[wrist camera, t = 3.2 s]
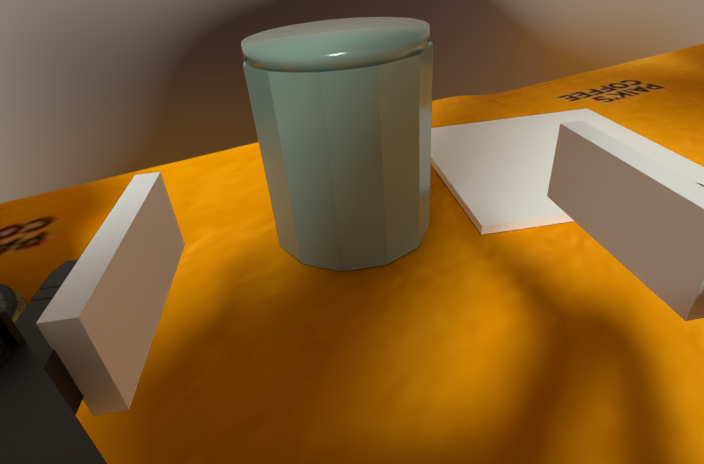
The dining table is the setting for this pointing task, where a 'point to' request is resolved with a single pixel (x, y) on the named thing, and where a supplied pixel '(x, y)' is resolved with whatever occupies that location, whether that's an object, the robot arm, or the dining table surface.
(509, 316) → the dining table surface
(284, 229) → the lidded green canister
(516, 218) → the board
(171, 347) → the dining table surface
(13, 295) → the apothecary jar
